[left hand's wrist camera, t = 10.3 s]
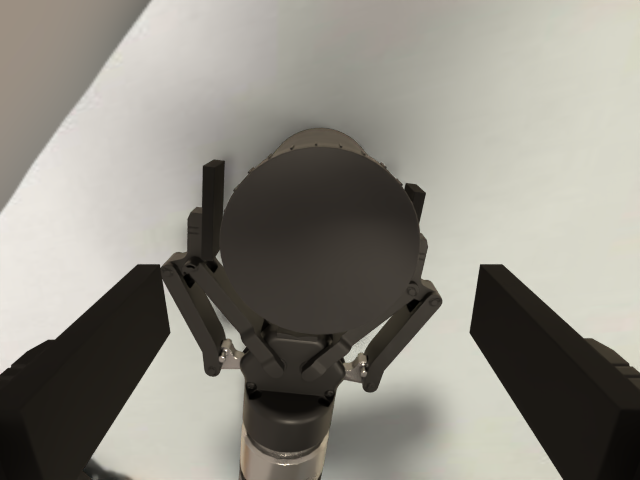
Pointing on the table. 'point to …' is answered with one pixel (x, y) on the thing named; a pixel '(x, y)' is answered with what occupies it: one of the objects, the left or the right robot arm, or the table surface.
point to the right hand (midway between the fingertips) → (316, 174)
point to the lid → (320, 239)
